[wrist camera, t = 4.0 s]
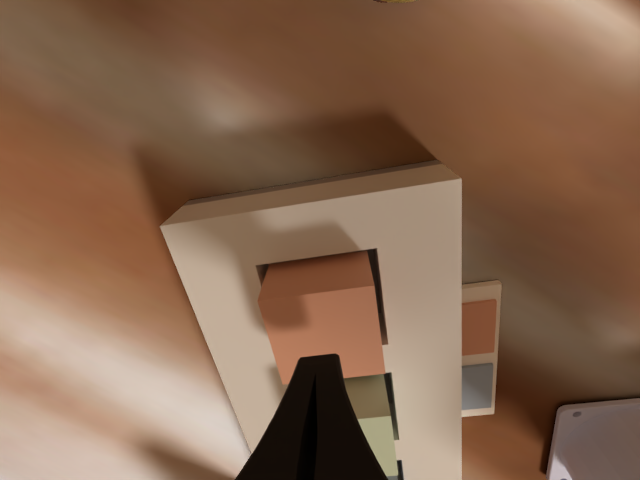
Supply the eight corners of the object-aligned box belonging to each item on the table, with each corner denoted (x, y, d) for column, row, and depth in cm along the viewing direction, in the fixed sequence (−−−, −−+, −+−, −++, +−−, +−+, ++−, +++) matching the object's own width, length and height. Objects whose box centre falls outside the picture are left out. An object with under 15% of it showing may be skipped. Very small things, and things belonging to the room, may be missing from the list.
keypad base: (437, 159, 16) (461, 178, 13) (446, 476, 26) (461, 527, 23) (188, 200, 17) (159, 226, 14) (290, 488, 27) (285, 537, 24)
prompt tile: (498, 279, 18) (503, 286, 18) (491, 408, 23) (495, 416, 22) (448, 286, 19) (452, 292, 18) (451, 412, 23) (453, 420, 22)
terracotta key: (366, 250, 15) (374, 285, 13) (377, 329, 17) (385, 373, 14) (268, 264, 15) (257, 301, 13) (289, 339, 17) (282, 384, 15)
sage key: (382, 368, 18) (390, 415, 15) (389, 424, 20) (398, 475, 17) (299, 377, 18) (295, 425, 16) (314, 431, 20) (312, 482, 18)
